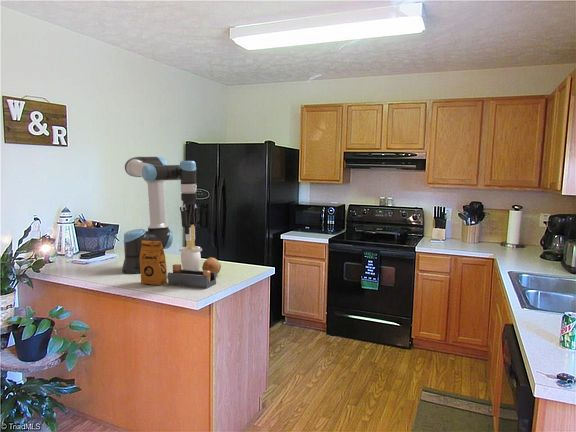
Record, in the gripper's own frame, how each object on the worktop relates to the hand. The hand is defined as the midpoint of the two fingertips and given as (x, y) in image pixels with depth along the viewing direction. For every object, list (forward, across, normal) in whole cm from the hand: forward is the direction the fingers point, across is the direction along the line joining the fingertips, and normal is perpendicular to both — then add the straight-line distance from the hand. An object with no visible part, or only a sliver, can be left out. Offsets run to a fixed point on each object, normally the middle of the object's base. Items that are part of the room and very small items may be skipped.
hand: (190, 239), depth 211 cm
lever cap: (+6, 0, 0) cm, 6 cm away
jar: (+23, +17, +11) cm, 30 cm away
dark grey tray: (+23, 0, 0) cm, 23 cm away
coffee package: (+23, -5, +19) cm, 30 cm away
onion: (+23, +18, -1) cm, 29 cm away
